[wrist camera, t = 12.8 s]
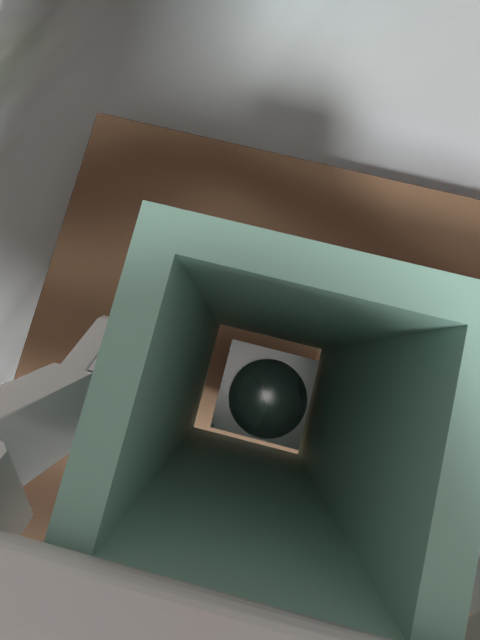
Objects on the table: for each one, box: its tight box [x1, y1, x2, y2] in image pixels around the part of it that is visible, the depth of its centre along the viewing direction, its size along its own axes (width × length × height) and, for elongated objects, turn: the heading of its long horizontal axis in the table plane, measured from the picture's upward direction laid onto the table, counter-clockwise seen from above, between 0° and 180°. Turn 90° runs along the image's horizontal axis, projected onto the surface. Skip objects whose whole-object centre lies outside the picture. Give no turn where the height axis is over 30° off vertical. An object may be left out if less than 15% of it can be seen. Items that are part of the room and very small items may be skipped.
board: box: [14, 113, 480, 542], centre depth 16 cm, size 20×20×2 cm
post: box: [210, 339, 319, 450], centre depth 13 cm, size 3×3×5 cm
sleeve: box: [44, 200, 480, 640], centre depth 9 cm, size 5×5×9 cm
